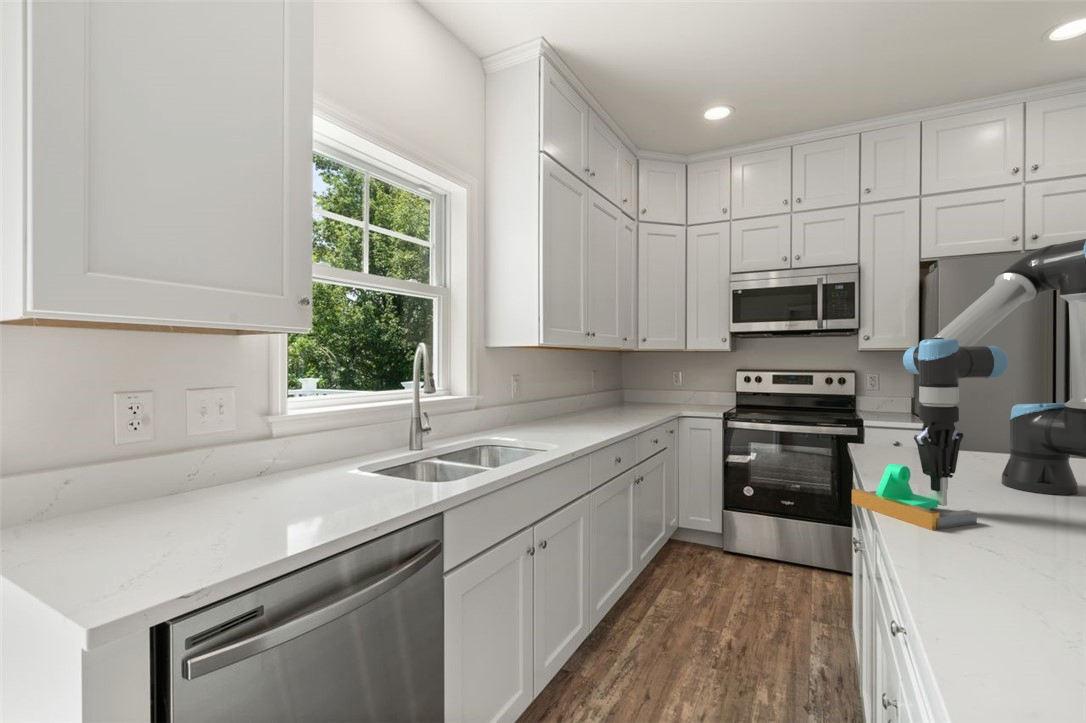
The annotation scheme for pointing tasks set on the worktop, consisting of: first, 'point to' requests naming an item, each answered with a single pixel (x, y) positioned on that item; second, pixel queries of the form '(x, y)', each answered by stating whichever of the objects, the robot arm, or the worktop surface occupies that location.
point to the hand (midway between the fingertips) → (939, 504)
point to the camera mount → (902, 487)
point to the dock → (912, 511)
